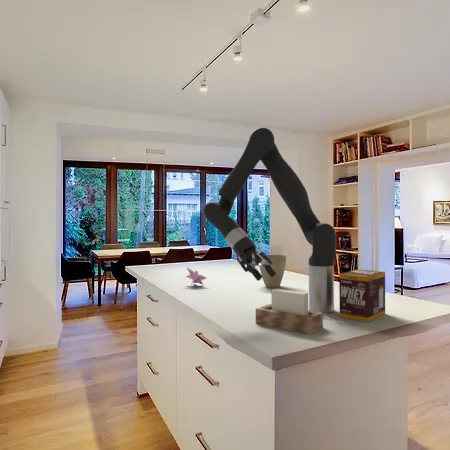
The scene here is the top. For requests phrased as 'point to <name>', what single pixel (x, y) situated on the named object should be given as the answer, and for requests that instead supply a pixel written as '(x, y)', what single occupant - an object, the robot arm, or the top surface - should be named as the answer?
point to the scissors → (333, 320)
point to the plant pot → (277, 266)
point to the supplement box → (362, 294)
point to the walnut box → (290, 320)
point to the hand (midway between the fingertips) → (267, 277)
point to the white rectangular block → (290, 301)
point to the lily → (195, 276)
